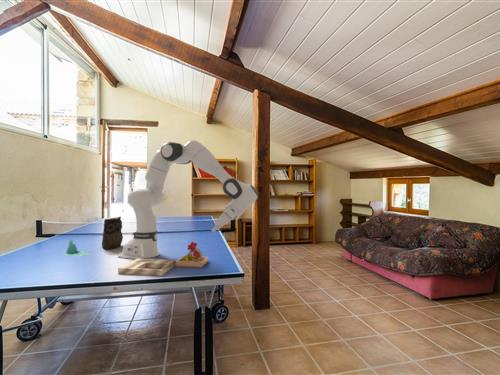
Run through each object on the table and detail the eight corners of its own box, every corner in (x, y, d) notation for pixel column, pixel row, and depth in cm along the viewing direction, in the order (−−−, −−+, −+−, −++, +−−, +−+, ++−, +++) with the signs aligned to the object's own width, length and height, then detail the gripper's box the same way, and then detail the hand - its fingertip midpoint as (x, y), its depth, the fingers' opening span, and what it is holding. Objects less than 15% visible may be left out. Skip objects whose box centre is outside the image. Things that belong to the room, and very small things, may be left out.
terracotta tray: (175, 266, 136) (175, 261, 136) (183, 260, 147) (183, 256, 147) (202, 267, 134) (202, 262, 134) (207, 261, 145) (207, 257, 145)
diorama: (82, 257, 151) (82, 242, 151) (54, 255, 156) (54, 240, 156) (99, 252, 163) (99, 238, 163) (72, 250, 168) (72, 237, 168)
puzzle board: (118, 273, 124) (118, 268, 124) (136, 263, 141) (137, 258, 141) (161, 275, 122) (161, 269, 122) (175, 265, 138) (175, 260, 138)
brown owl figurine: (122, 245, 183) (123, 216, 183) (122, 249, 172) (122, 218, 172) (101, 246, 178) (102, 216, 178) (99, 250, 166) (100, 218, 166)
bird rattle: (197, 264, 145) (182, 258, 144) (206, 245, 146) (190, 239, 144) (197, 267, 139) (180, 261, 137) (206, 248, 139) (189, 241, 138)
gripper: (232, 205, 149) (215, 222, 150) (225, 208, 128) (205, 228, 129) (240, 213, 148) (223, 230, 149) (234, 217, 128) (214, 237, 129)
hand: (214, 229), depth 139 cm, fingers open, 8 cm apart
